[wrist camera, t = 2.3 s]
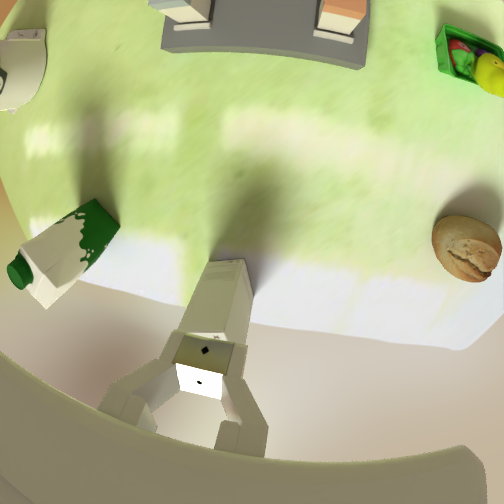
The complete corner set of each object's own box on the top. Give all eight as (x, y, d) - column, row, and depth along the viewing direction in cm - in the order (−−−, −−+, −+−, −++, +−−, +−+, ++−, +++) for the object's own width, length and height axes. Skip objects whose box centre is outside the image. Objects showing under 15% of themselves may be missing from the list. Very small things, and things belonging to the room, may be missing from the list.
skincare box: (207, 260, 44) (172, 329, 31) (247, 256, 43) (225, 329, 29) (219, 301, 48) (194, 371, 34) (256, 299, 46) (241, 374, 33)
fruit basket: (485, 50, 19) (530, 46, 9) (489, 102, 23) (538, 111, 14) (425, 29, 21) (466, 11, 11) (432, 85, 25) (478, 84, 16)
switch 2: (317, 28, 22) (324, 4, 15) (319, 7, 20) (326, -21, 13) (349, 34, 21) (365, 14, 15) (351, 14, 20) (367, -11, 13)
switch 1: (179, 22, 23) (148, 5, 16) (182, 3, 21) (153, -18, 14) (208, 20, 23) (182, -1, 16) (211, 0, 21) (187, -24, 14)
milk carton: (93, 190, 40) (8, 247, 23) (127, 227, 43) (52, 300, 26) (75, 221, 44) (2, 279, 27) (105, 254, 47) (40, 324, 30)
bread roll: (476, 270, 37) (496, 296, 30) (417, 255, 38) (435, 285, 31) (497, 223, 32) (522, 245, 25) (438, 200, 33) (464, 222, 26)
